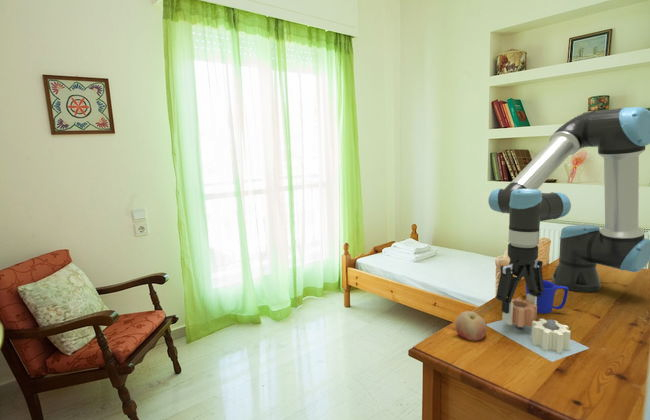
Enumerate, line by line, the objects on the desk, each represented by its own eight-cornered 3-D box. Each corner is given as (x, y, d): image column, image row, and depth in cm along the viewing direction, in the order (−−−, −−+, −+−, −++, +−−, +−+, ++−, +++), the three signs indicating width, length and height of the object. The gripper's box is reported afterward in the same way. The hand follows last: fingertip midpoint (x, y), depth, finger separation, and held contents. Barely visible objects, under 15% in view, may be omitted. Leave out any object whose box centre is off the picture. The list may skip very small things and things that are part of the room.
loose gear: (542, 323, 101) (544, 307, 100) (520, 330, 98) (521, 313, 97) (516, 311, 109) (517, 295, 108) (495, 316, 106) (496, 301, 105)
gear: (536, 332, 101) (537, 315, 100) (572, 343, 95) (574, 325, 94) (526, 344, 95) (527, 327, 94) (564, 356, 89) (565, 338, 88)
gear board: (519, 319, 112) (520, 295, 110) (589, 353, 92) (591, 324, 91) (485, 329, 107) (485, 304, 105) (551, 367, 87) (553, 337, 86)
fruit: (467, 349, 97) (468, 322, 95) (449, 335, 104) (450, 309, 103) (492, 344, 99) (493, 317, 97) (473, 330, 106) (473, 305, 105)
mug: (572, 319, 110) (574, 289, 108) (529, 317, 112) (531, 288, 111) (560, 308, 118) (562, 279, 116) (520, 306, 120) (522, 278, 119)
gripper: (537, 236, 107) (533, 307, 110) (483, 246, 99) (480, 321, 103) (562, 242, 100) (557, 317, 103) (505, 252, 92) (502, 333, 96)
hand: (519, 319), depth 103 cm, fingers closed on loose gear, 9 cm apart
